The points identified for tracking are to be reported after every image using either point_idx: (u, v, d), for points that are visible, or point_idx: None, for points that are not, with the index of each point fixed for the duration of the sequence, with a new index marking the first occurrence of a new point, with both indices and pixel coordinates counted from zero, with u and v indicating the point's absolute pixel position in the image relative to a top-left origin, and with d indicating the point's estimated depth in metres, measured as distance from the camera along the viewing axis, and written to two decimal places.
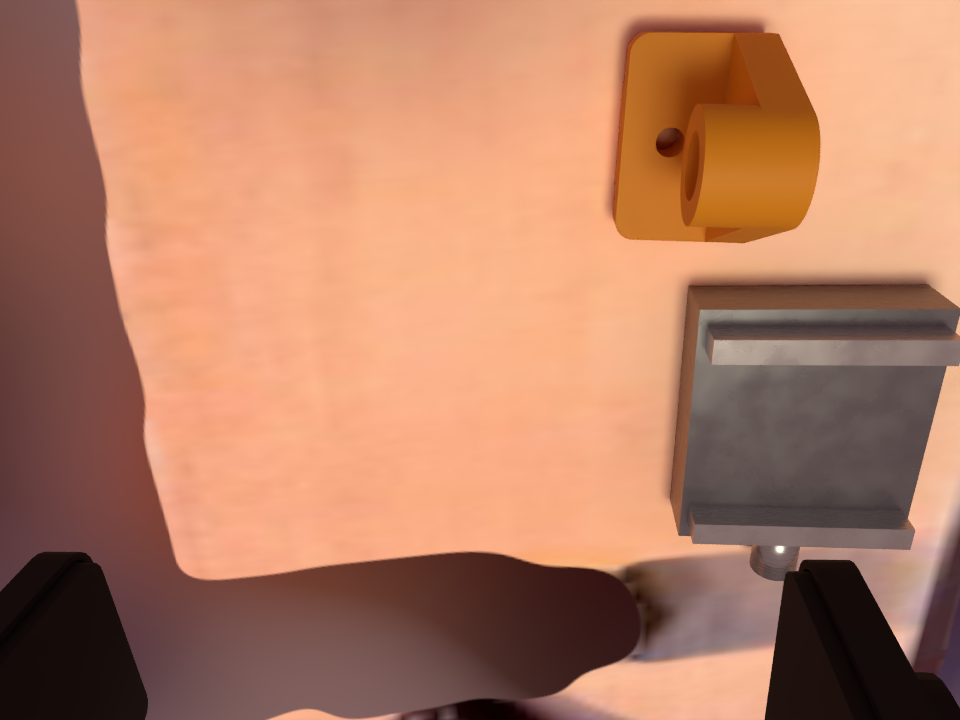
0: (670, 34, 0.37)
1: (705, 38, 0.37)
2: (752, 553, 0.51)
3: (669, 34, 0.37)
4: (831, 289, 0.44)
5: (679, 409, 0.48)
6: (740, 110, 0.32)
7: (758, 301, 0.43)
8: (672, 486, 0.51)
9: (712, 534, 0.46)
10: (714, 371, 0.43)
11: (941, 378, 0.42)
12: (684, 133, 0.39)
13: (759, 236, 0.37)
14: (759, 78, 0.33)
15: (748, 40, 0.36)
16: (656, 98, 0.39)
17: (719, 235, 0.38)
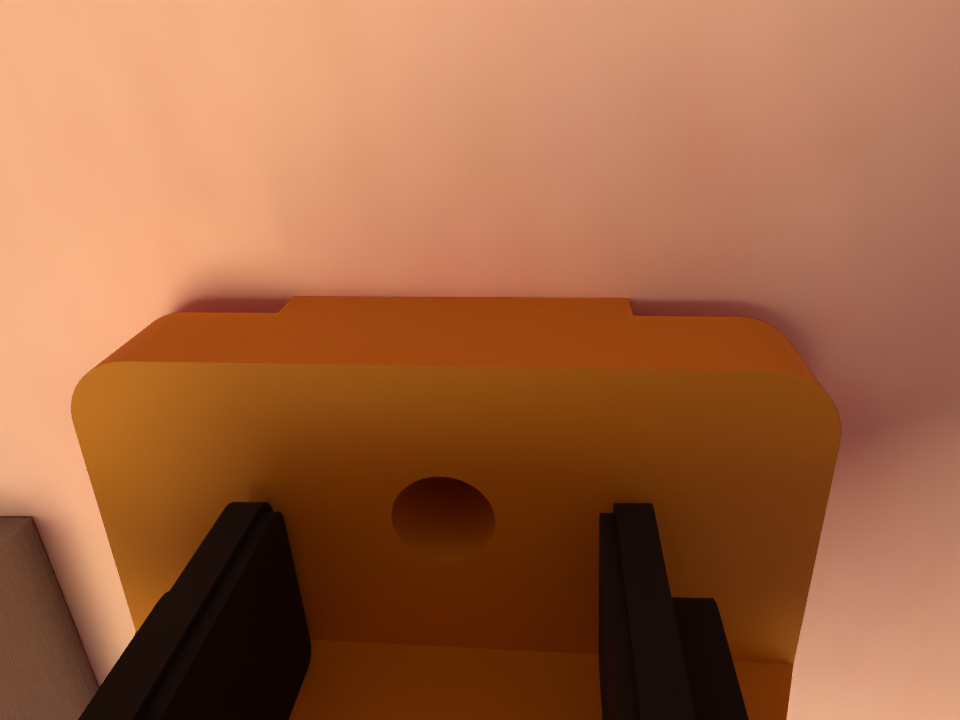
0: (822, 497, 0.10)
1: (790, 594, 0.11)
2: None
3: (823, 495, 0.10)
4: None
5: None
6: None
7: None
8: None
9: None
10: None
11: None
12: (477, 557, 0.11)
13: None
14: None
15: None
16: (598, 468, 0.10)
17: None
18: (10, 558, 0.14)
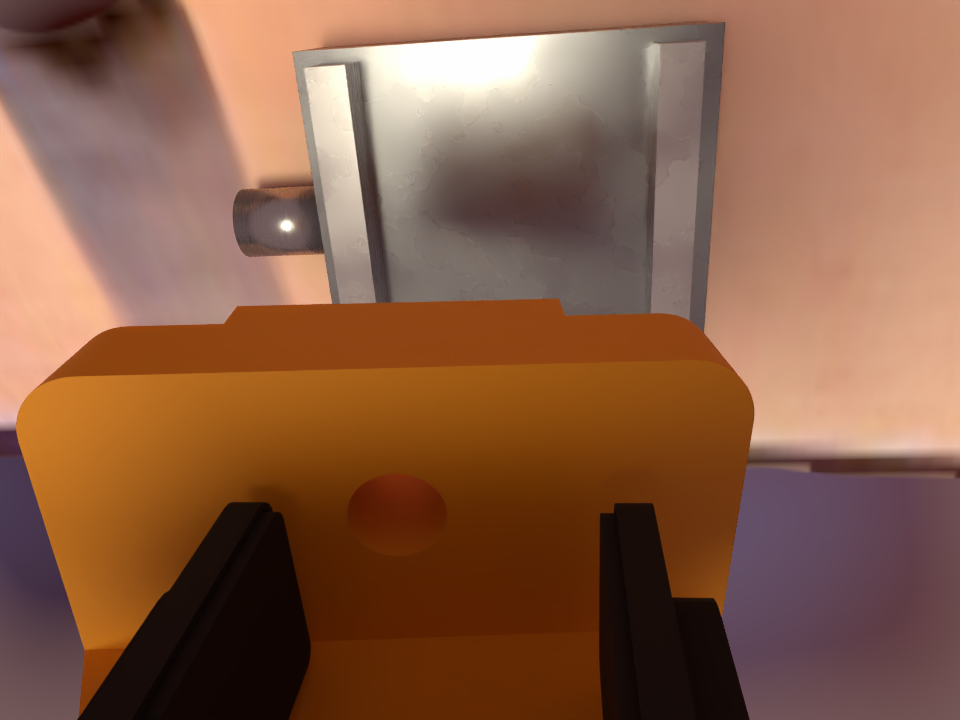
0: (740, 472, 0.11)
1: (715, 563, 0.12)
2: (264, 189, 0.32)
3: (741, 470, 0.11)
4: None
5: None
6: None
7: None
8: (352, 45, 0.31)
9: (329, 100, 0.27)
10: (613, 65, 0.27)
11: None
12: (430, 549, 0.12)
13: None
14: None
15: None
16: (541, 457, 0.11)
17: None
18: None
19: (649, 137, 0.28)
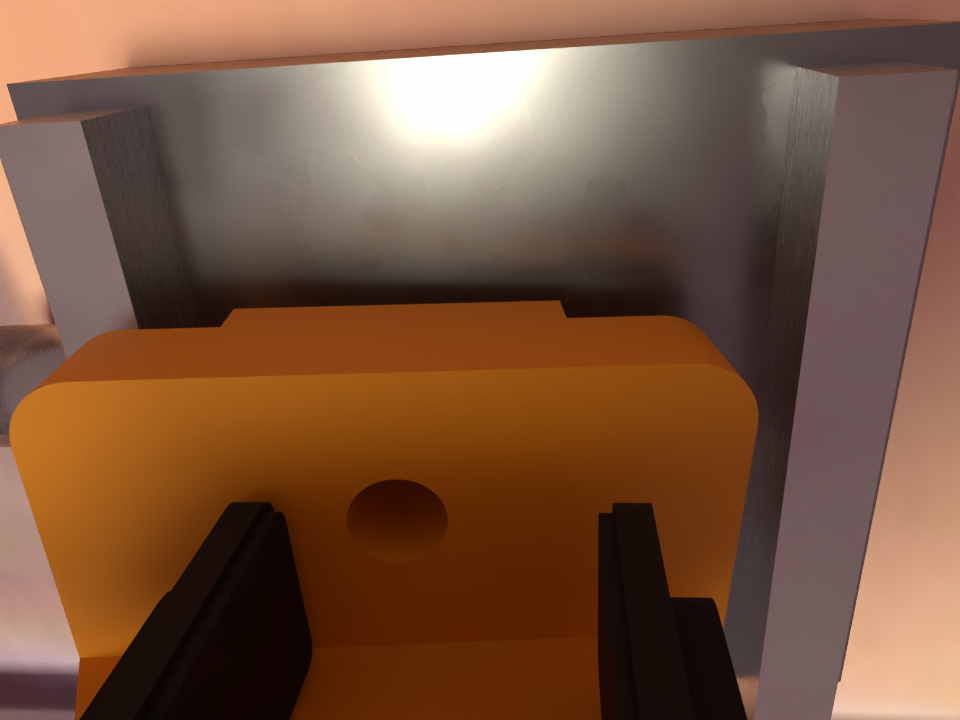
0: (744, 476, 0.11)
1: (718, 567, 0.12)
2: (27, 330, 0.17)
3: (744, 474, 0.11)
4: None
5: (455, 47, 0.15)
6: None
7: None
8: (176, 65, 0.16)
9: (57, 197, 0.12)
10: (702, 116, 0.12)
11: None
12: (431, 554, 0.12)
13: None
14: None
15: None
16: (544, 462, 0.11)
17: None
18: None
19: (772, 268, 0.13)
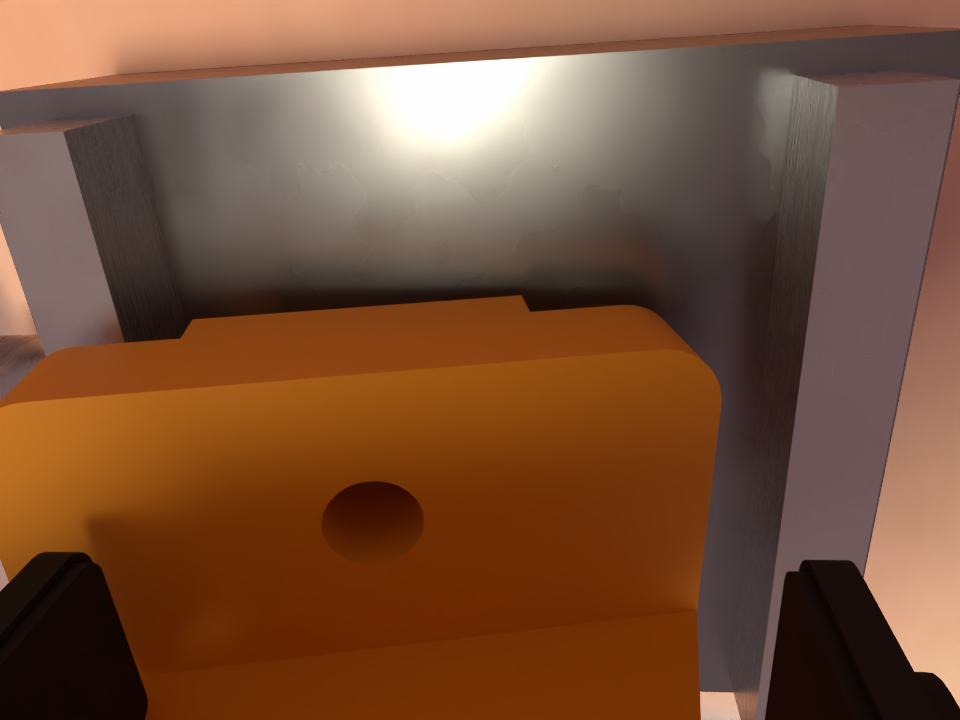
0: (710, 457, 0.12)
1: (690, 547, 0.12)
2: (14, 341, 0.17)
3: (711, 454, 0.11)
4: None
5: (448, 53, 0.15)
6: None
7: None
8: (165, 72, 0.16)
9: (40, 209, 0.11)
10: (699, 125, 0.12)
11: None
12: (408, 555, 0.12)
13: None
14: None
15: None
16: (516, 455, 0.11)
17: None
18: None
19: (771, 278, 0.13)
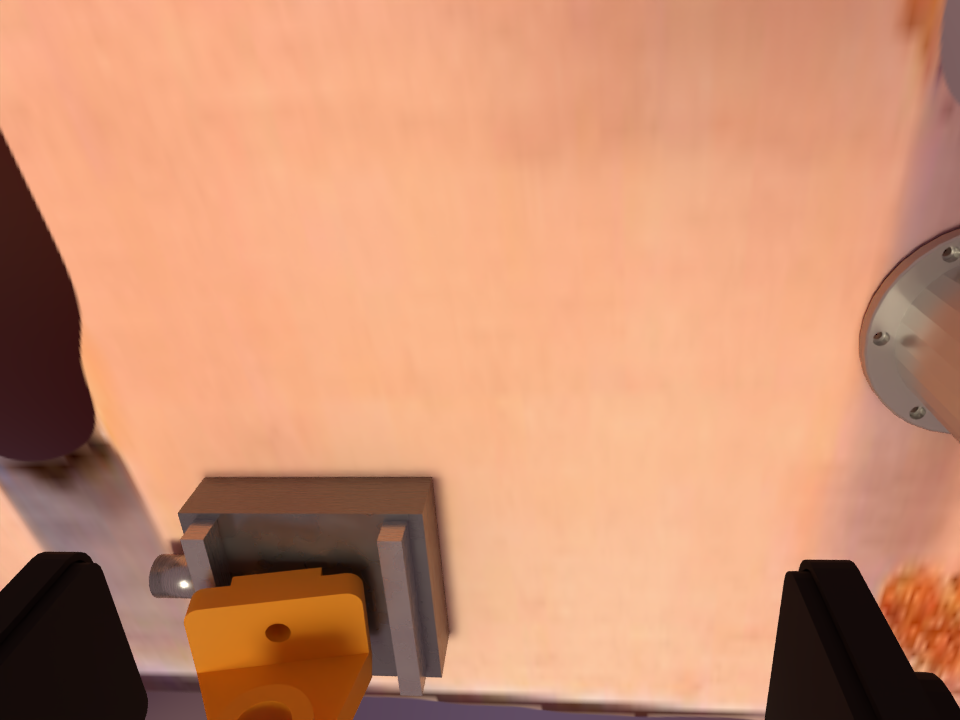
0: (362, 615, 0.46)
1: (362, 637, 0.47)
2: (170, 560, 0.52)
3: (362, 615, 0.46)
4: (441, 580, 0.52)
5: (308, 482, 0.50)
6: None
7: (430, 545, 0.48)
8: (221, 481, 0.50)
9: (195, 554, 0.46)
10: (363, 529, 0.47)
11: (381, 674, 0.52)
12: (287, 640, 0.46)
13: None
14: None
15: (364, 669, 0.47)
16: (312, 616, 0.46)
17: (207, 713, 0.44)
18: (430, 489, 0.49)
19: None
